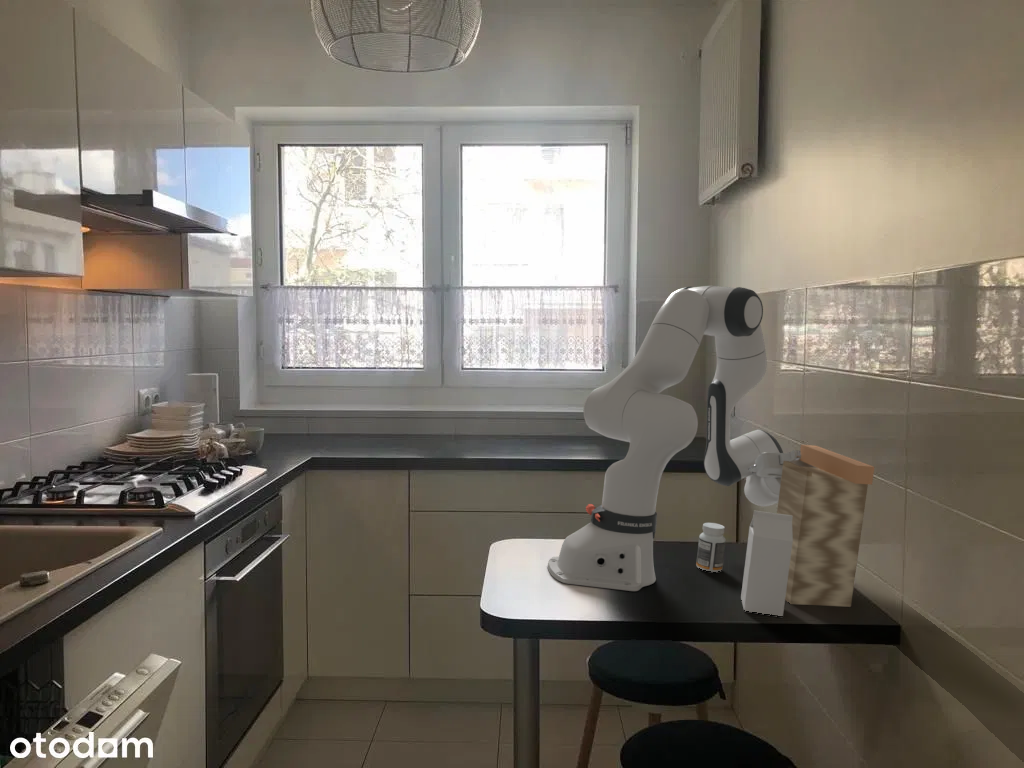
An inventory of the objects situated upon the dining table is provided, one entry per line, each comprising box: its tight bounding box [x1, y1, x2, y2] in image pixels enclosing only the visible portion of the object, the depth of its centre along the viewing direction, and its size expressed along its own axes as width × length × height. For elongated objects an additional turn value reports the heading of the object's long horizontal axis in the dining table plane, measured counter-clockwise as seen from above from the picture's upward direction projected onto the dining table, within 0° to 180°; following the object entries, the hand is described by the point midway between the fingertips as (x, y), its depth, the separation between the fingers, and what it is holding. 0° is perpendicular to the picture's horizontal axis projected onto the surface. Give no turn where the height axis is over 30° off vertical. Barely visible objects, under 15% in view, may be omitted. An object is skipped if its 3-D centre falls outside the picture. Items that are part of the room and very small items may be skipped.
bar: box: [799, 444, 875, 485], centre depth 158 cm, size 4×22×4 cm, turn 7°
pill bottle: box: [695, 522, 727, 573], centre depth 170 cm, size 6×6×10 cm
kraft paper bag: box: [776, 461, 869, 608], centre depth 157 cm, size 13×10×27 cm
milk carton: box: [740, 510, 793, 617], centre depth 148 cm, size 7×7×19 cm
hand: (818, 455), depth 165 cm, fingers open, 8 cm apart
